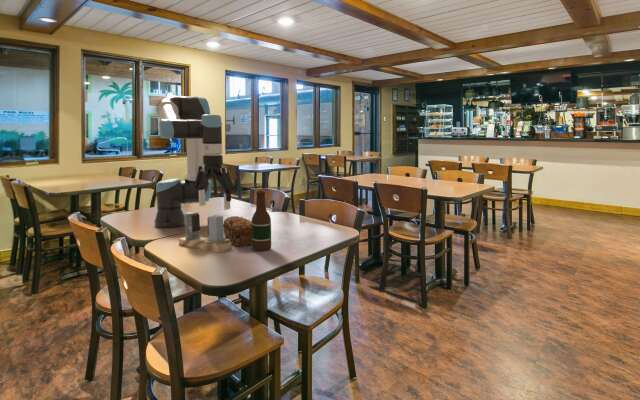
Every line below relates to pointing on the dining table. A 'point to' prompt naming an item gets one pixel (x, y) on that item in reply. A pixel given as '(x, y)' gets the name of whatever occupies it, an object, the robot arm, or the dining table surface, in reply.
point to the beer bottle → (261, 225)
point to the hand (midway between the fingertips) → (214, 207)
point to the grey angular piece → (200, 242)
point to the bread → (238, 230)
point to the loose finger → (215, 228)
